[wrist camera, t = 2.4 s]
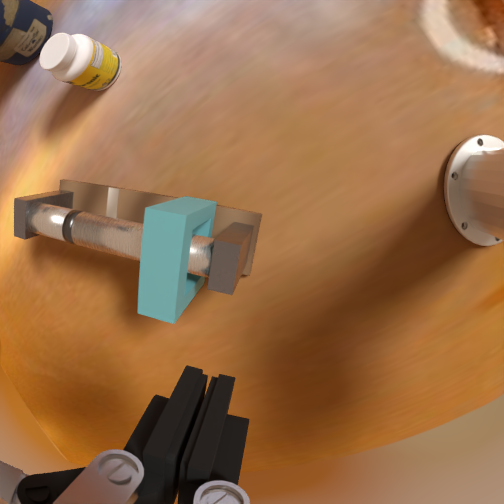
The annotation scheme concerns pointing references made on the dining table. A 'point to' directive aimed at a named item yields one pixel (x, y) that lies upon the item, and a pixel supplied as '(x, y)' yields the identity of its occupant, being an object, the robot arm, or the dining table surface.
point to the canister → (22, 30)
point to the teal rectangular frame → (171, 256)
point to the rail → (130, 237)
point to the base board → (135, 202)
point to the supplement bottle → (80, 61)
